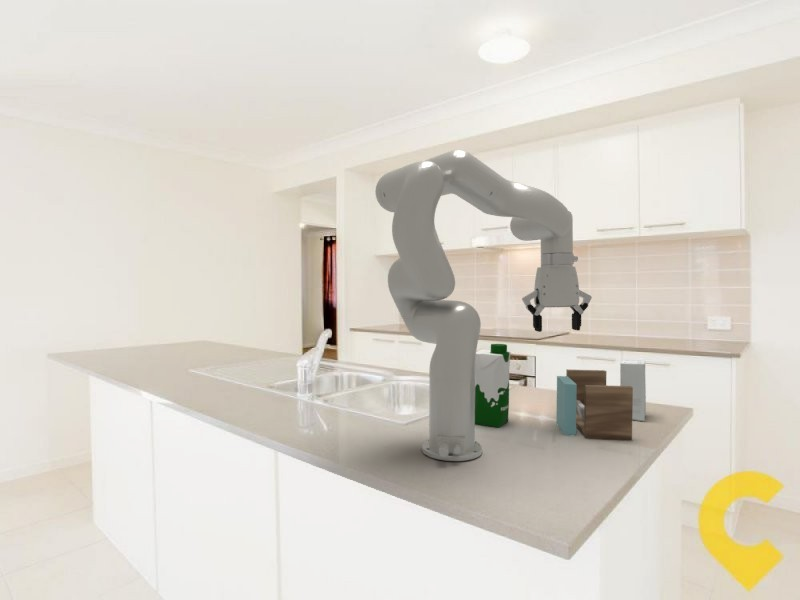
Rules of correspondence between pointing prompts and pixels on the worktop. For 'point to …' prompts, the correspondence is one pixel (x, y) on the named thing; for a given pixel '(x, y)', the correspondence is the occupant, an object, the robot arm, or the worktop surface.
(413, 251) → the robot arm
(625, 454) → the worktop surface
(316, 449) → the worktop surface
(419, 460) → the worktop surface
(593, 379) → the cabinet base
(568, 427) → the door panel
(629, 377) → the skincare box
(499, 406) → the milk carton
